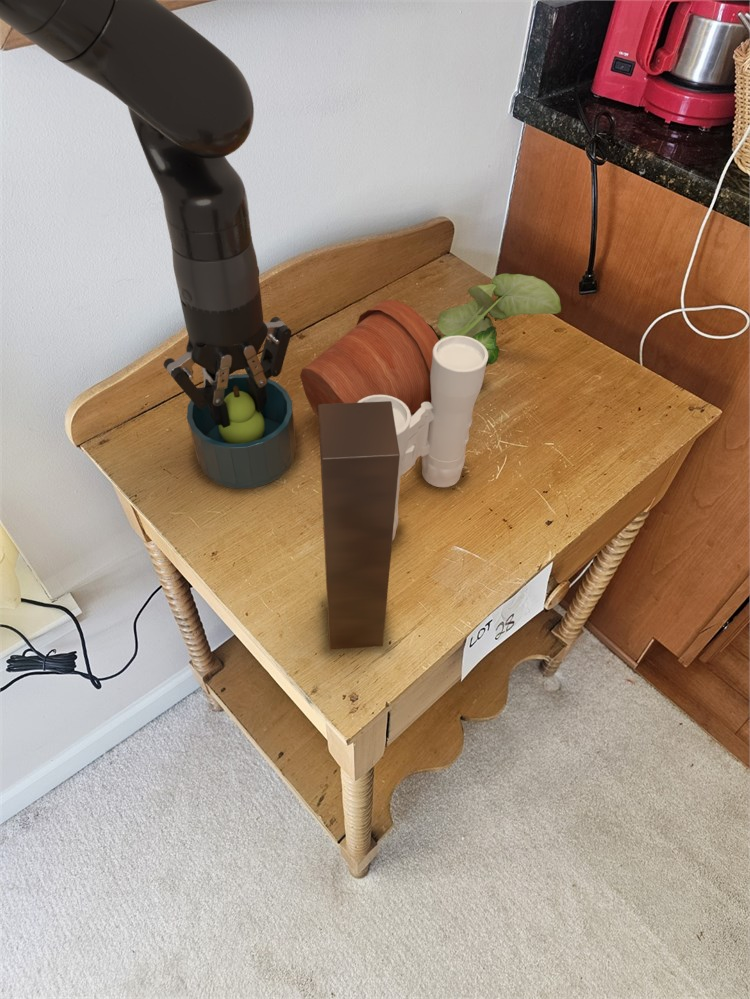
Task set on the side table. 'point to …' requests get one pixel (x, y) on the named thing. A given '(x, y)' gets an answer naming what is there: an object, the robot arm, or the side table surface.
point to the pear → (242, 419)
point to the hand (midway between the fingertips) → (239, 414)
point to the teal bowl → (251, 459)
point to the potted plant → (416, 343)
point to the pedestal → (357, 517)
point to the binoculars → (440, 414)
